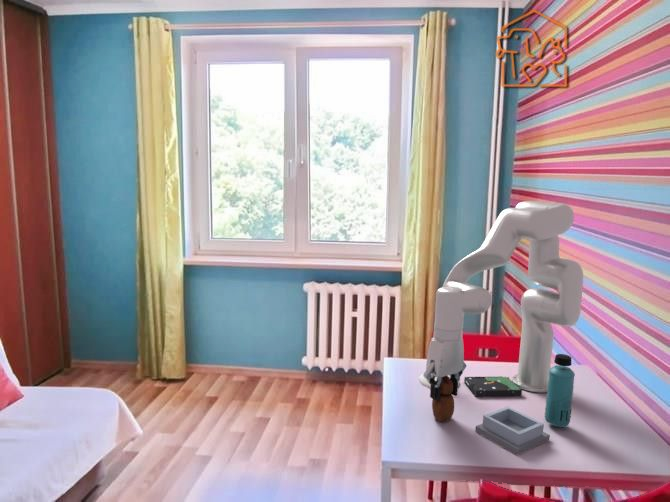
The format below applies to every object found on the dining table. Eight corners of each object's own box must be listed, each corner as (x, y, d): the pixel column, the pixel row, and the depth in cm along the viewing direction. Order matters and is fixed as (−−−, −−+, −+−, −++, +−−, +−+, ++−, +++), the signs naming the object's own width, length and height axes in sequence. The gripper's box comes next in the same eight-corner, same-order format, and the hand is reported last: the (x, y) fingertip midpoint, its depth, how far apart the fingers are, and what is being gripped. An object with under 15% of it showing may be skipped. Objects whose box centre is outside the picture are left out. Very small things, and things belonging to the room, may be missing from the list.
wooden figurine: (429, 412, 142) (433, 361, 140) (450, 413, 142) (453, 362, 140) (433, 424, 136) (437, 371, 133) (455, 425, 135) (459, 372, 133)
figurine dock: (506, 418, 140) (508, 403, 139) (549, 440, 129) (551, 424, 128) (475, 431, 132) (476, 415, 132) (517, 455, 122) (518, 437, 121)
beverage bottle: (558, 434, 132) (566, 362, 129) (537, 422, 138) (544, 353, 135) (575, 429, 135) (583, 358, 132) (554, 418, 141) (561, 349, 138)
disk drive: (475, 399, 153) (522, 397, 154) (476, 390, 152) (522, 389, 154) (463, 384, 163) (507, 383, 164) (463, 376, 162) (507, 375, 164)
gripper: (459, 324, 143) (455, 384, 146) (414, 334, 133) (410, 398, 136) (480, 332, 137) (475, 394, 139) (434, 342, 127) (430, 409, 130)
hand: (443, 395), depth 138 cm, fingers closed on wooden figurine, 5 cm apart
